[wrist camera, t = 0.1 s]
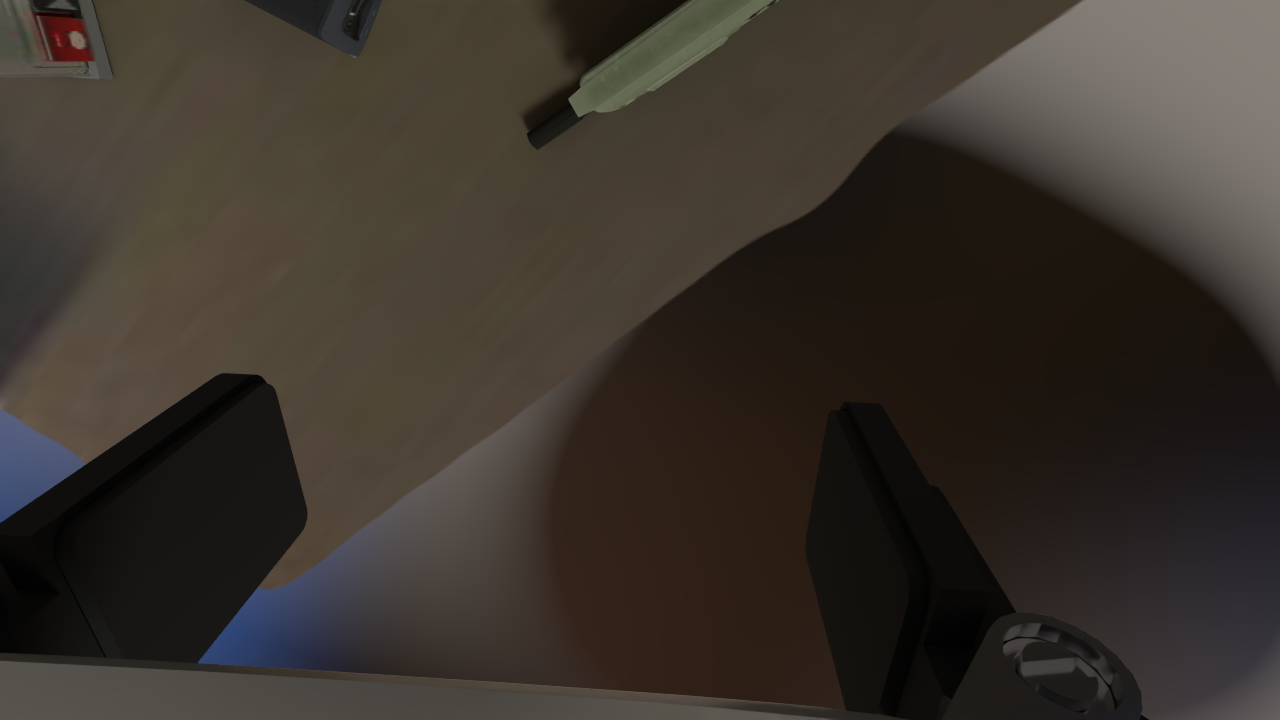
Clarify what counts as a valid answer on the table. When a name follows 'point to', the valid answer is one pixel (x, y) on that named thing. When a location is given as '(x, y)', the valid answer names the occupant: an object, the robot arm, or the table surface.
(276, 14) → the external hard drive
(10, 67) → the grey printed box
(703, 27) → the handheld radio
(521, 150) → the table surface
